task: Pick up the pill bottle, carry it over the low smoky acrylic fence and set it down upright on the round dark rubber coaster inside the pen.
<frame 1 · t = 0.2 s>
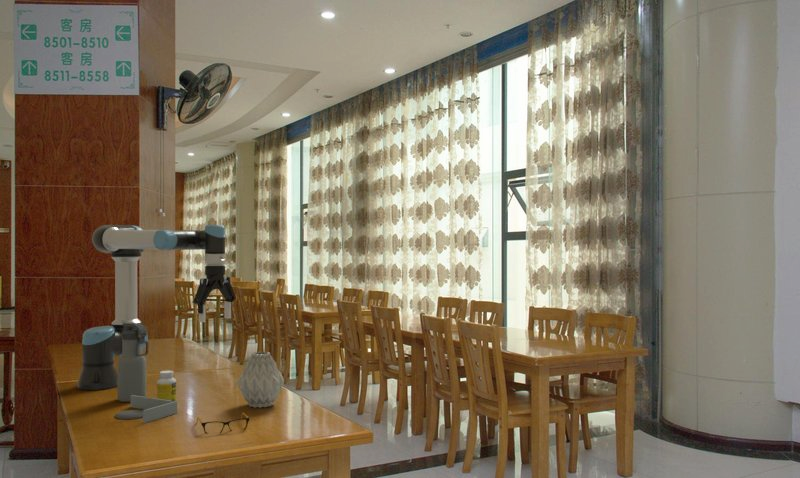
hand: (215, 320, 260), 28 cm above the table, fingers open, 13 cm apart
fence long: (151, 409, 233), on the table
pill bottle: (166, 405, 241), on the table
vase: (261, 405, 240), on the table
coaster: (132, 415, 226), on the table
eyeglasses: (222, 428, 213), on the table
fence end: (160, 417, 223), on the table
water bottle: (132, 399, 249), on the table
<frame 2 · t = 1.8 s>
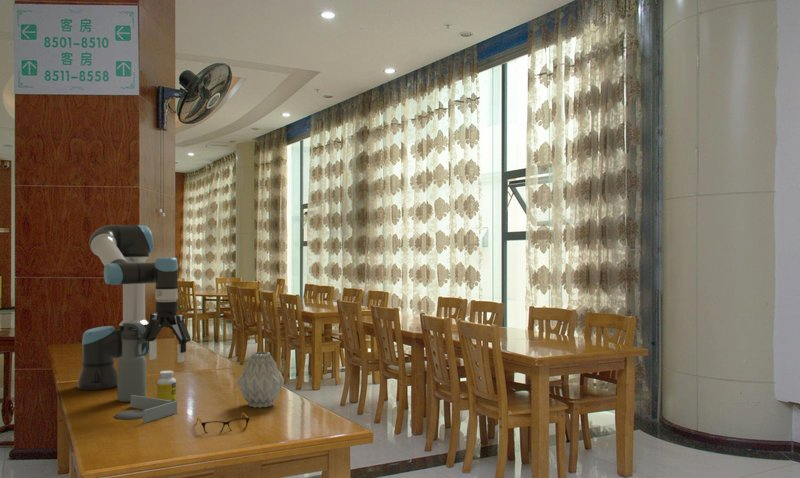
hand: (166, 360, 241), 16 cm above the table, fingers open, 13 cm apart
nothing on the table moved.
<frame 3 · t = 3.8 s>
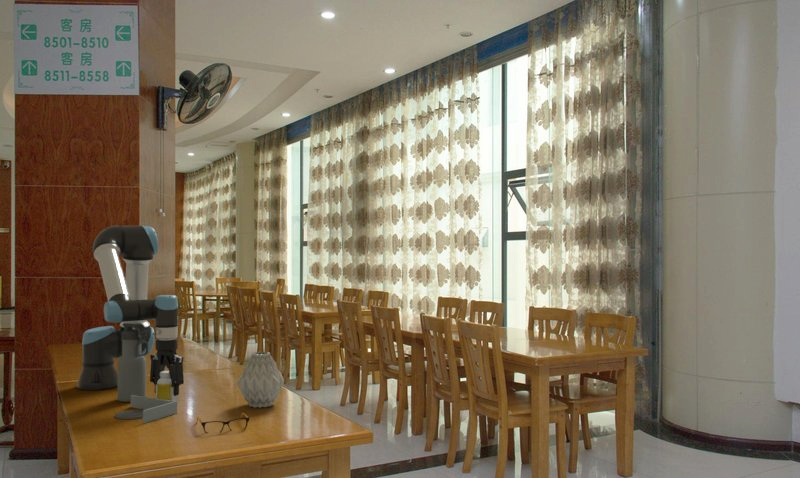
hand: (166, 403, 241), 0 cm above the table, fingers closed on pill bottle, 6 cm apart
pill bottle: (166, 404, 241), on the table, touching gripper
everything else where it was.
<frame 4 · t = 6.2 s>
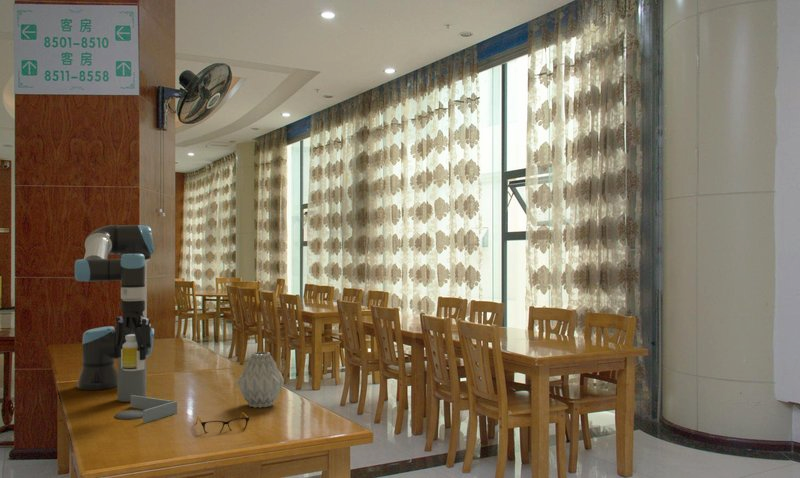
hand: (132, 368, 226), 16 cm above the table, fingers closed on pill bottle, 6 cm apart
pill bottle: (132, 370, 226), point 15 cm above the table, touching gripper
everything else where it was.
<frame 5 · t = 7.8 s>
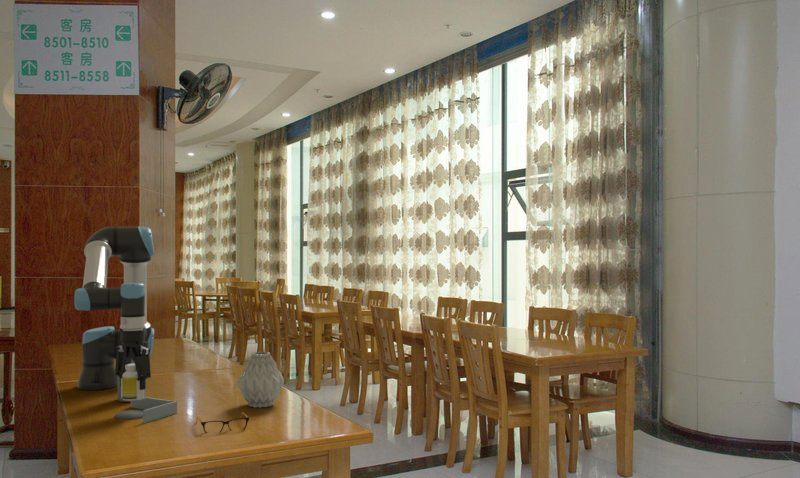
hand: (132, 398, 226), 6 cm above the table, fingers closed on pill bottle, 6 cm apart
pill bottle: (132, 399, 226), point 5 cm above the table, touching gripper
everything else where it was.
when the fingers open (2 cm above the table, at t = 9.0 s): pill bottle stays where it is, resting on coaster.
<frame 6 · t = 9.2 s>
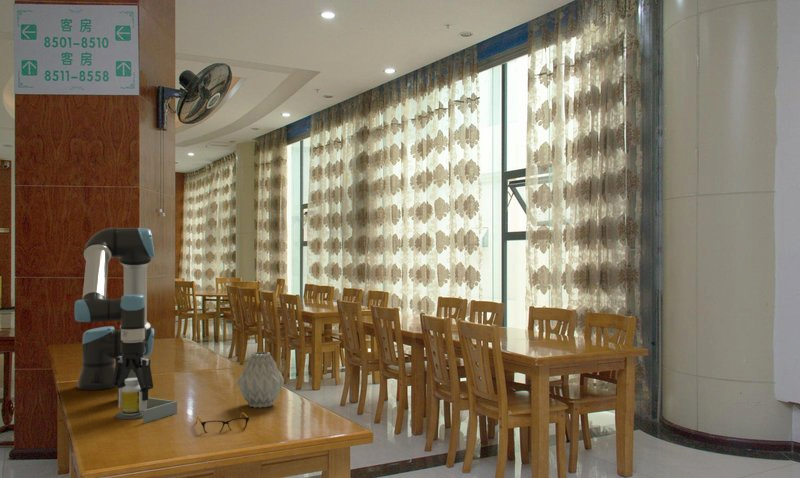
hand: (132, 408, 226), 2 cm above the table, fingers open, 9 cm apart
pill bottle: (132, 414, 226), resting on coaster
everything else where it was.
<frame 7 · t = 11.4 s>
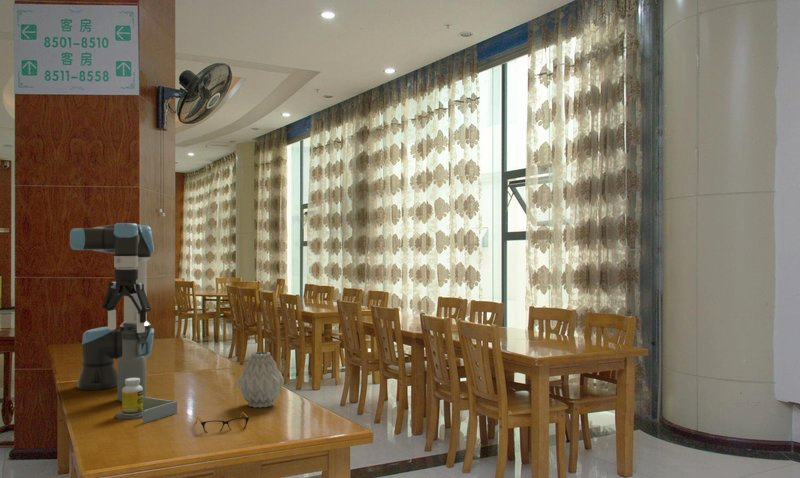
hand: (126, 330, 230), 28 cm above the table, fingers open, 13 cm apart
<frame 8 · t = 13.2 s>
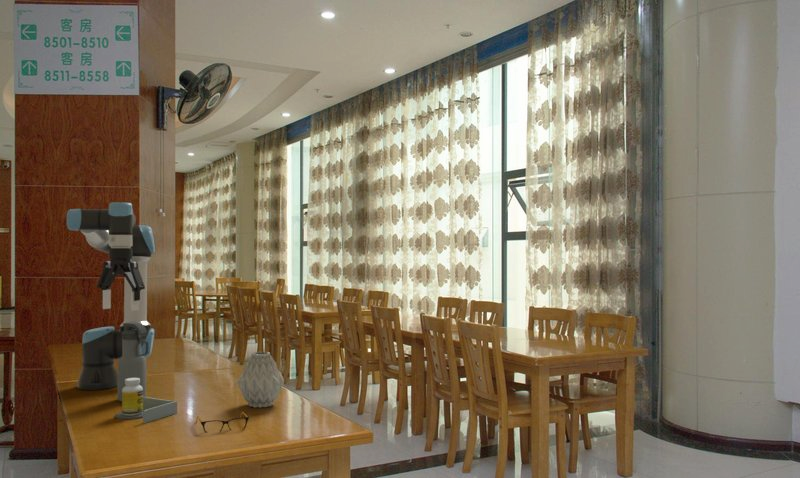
hand: (120, 309, 232), 35 cm above the table, fingers open, 13 cm apart
at the end: pill bottle inside the target area on the coaster (0.1 cm from its centre), point 0.2 cm above the coaster's base; pill bottle tilted 0°; the gripper is holding nothing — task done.
